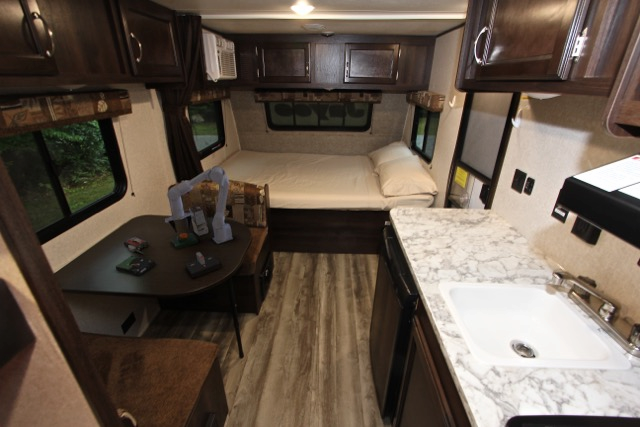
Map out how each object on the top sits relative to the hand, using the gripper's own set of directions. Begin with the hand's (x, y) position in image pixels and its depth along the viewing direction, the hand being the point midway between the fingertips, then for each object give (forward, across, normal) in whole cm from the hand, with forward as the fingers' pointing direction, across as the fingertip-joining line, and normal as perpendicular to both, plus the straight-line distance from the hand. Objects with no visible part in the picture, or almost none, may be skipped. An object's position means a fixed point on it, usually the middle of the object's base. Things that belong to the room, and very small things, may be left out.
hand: (182, 230), depth 167 cm
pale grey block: (+5, -1, -30) cm, 30 cm away
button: (+5, 0, 0) cm, 5 cm away
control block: (+8, 0, 0) cm, 8 cm away
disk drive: (+8, -27, -10) cm, 30 cm away
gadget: (+8, -1, -31) cm, 32 cm away
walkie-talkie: (+8, -22, +10) cm, 26 cm away
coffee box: (+8, +12, +7) cm, 16 cm away
